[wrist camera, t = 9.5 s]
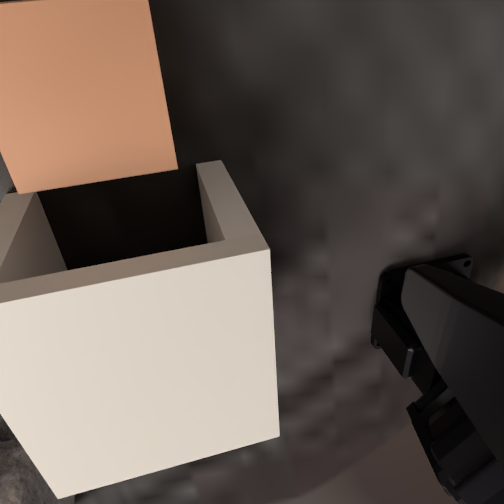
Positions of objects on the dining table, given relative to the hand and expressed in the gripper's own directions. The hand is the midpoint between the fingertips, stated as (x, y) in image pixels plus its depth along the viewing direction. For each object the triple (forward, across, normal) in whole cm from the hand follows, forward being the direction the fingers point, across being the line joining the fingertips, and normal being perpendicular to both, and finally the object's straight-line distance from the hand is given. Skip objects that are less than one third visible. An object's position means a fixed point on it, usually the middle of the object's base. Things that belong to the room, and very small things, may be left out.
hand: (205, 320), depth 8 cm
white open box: (+12, +2, +6) cm, 14 cm away
